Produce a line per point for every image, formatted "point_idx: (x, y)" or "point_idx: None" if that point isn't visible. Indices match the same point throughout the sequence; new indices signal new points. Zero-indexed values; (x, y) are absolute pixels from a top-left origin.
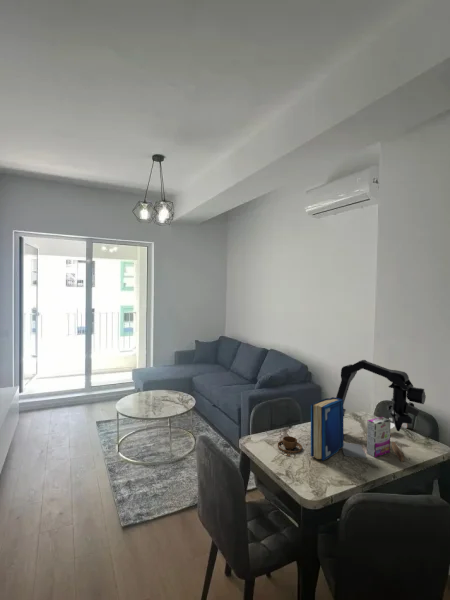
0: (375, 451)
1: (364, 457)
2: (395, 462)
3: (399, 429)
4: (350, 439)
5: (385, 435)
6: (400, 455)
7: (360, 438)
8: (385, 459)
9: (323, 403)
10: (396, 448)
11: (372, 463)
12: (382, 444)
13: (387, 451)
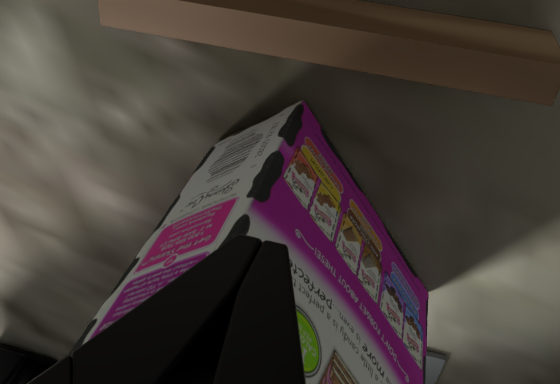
0: (423, 335)
1: (438, 372)
2: (551, 142)
3: (291, 291)
4: (95, 313)
5: (304, 357)
6: (528, 95)
7: (37, 233)
8: (468, 215)
9: None
10: (320, 63)
11: (544, 355)
12: (362, 301)
13: (325, 150)
